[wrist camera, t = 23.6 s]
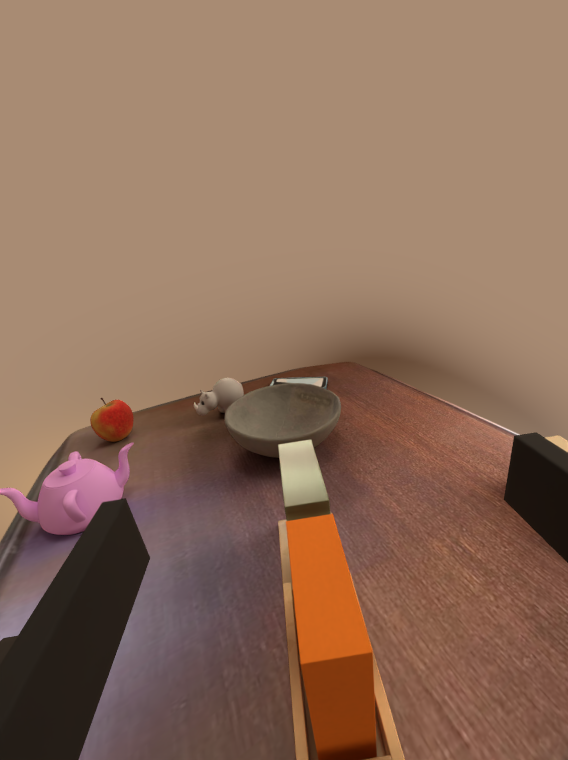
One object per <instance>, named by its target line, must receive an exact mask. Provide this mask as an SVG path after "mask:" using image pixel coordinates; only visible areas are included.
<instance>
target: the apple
mask: <svg viewBox="0 0 568 760" xmlns="http://www.w3.org/2000/svg"><path fill="white" fill-rule="evenodd" d="M101 399H102V400H103V398H101ZM103 402H104V400H103ZM104 403H105V402H104ZM91 426H92V428H93V430H94V431H95V433H96V434H97V435H98V436H99V437H101V438H102V439H104V440H107V441H111V442H115V441H120V440H122V439H124V438H125V437H127V436H128V435H129V433H130V432H131V430H132V426H133V413H132V410H131V409H130V407H129V406H128V405H127V404H126V403H124V402H123V401H120V400H113V401H111V402H109V403H107V404H105V405H104V406H103V407H101V408H99V409H97V410H96V411H95V412H94V413H93V414H92V416H91Z"/></svg>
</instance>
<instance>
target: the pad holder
mask: <svg viewBox="0 0 568 760" xmlns="http://www.w3.org/2000/svg"><path fill="white" fill-rule="evenodd" d="M278 451H279V460H280V470H281V479H282V488H283V498H284V507H285V513H286V519H287V520H281V521H278V527H279V541H280V554H281V567H282V580H283V593H284V606H285V619H286V633H287V646H288V659H289V672H290V685H291V698H292V711H293V725H294V738H295V751H296V760H318V755H317V750H316V745H315V739H314V734H313V728H312V723H311V718H310V712H309V707H308V702H307V696H306V691H305V685H304V680H303V675H302V669H301V664H300V654H299V645H298V635H297V626H296V616H295V606H294V597H293V587H292V578H291V568H290V558H289V549H288V539H287V530H286V521H291V520H297V519H303V518H310V517H316V516H322V515H328V514H332V513H330V504H329V498H328V495H327V491H326V488H325V484H324V481H323V477H322V474H321V471H320V467H319V464H318V460H317V457H316V453H315V450H314V447H313V443H312V440H305V441H298V442H292V443H285V444H279V445H278ZM350 575H351V573H350ZM351 579H352V577H351ZM352 582H353V580H352ZM353 585H354V584H353ZM354 589H355V587H354ZM355 592H356V590H355ZM356 596H357V594H356ZM357 599H358V597H357ZM358 603H359V601H358ZM359 606H360V604H359ZM360 610H361V608H360ZM361 613H362V611H361ZM362 616H363V614H362ZM363 620H364V618H363ZM364 623H365V621H364ZM365 627H366V625H365ZM366 630H367V628H366ZM367 634H368V632H367ZM368 637H369V635H368ZM369 641H370V638H369ZM370 644H371V642H370ZM371 647H372V645H371ZM372 651H373V649H372ZM373 672H374V697H375V722H376V747H377V757H373V758H368V759H362V760H405V758H404V755H403V752H402V748H401V745H400V741H399V738H398V734H397V731H396V728H395V724H394V721H393V717H392V714H391V710H390V707H389V704H388V700H387V697H386V693H385V690H384V686H383V683H382V680H381V676H380V673H379V669H378V666H377V662H376V659H375V656H374V652H373Z"/></svg>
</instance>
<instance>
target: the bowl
mask: <svg viewBox="0 0 568 760" xmlns="http://www.w3.org/2000/svg"><path fill="white" fill-rule="evenodd" d="M340 412H341V403H340V400H339V398H338V396H336V395H335V394H334V393H333V392H331V391H329V390H327V389H325V388H322V387H319V386H316V385H312V384H304V383H286V384H278V385H273V386H268V387H264V388H260V389H257V390H254V391H252V392H250V393H248V394H246V395H244V396H242V397H240V398H239V399H238V400H236V401H235V402H234V403H232V404H231V405H230V406H229V407H228V409H227V411H226V413H225V424H226V427H227V429H228V431H229V433H230V434H231V436H232V437H233V438H234V440H235V441H236V442H237V443H238V444H240V445H241V446H242V447H244V448H245V449H247V450H249V451H251V452H254V453H256V454H260V455H264V456H268V457H276V458H279V451H278V445H279V444H285V443H292V442H298V441H305V440H312V443H313V447H314V448H315V447H316V446H318V445H319V444H320V443H321V442H323V441H324V440H325V439H326V438H327V436H328V435H329V434H330V433H331V432H332V430H333V429H334V427H335V426H336V424H337V422H338V419H339V416H340Z"/></svg>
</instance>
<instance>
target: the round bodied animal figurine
mask: <svg viewBox="0 0 568 760" xmlns="http://www.w3.org/2000/svg"><path fill="white" fill-rule="evenodd" d="M200 391H201V393H202V395H201V397H200V403H198V406H197V405H196V404H195V402H194V408H195V409H196V410H197V413H198V414H199V415H206V414H207V413H208V412H209V411H210V410H213V409H215V408H216V407H217V406H218V408H219V411H220V412H221V413H226V411H227V409H228V407H229V406H230V405H231V404H232V403H234V402H235V401H236V400H238V399H239V398H240V397H242V396H243V388H242V384H241V383H239V382H238V381H236V380H235V379H232V378H223V379H221V380H219V381H218V382H217V383H216V384H215V385H214V387H213V390H212V392H204V391H202V390H200Z"/></svg>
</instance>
